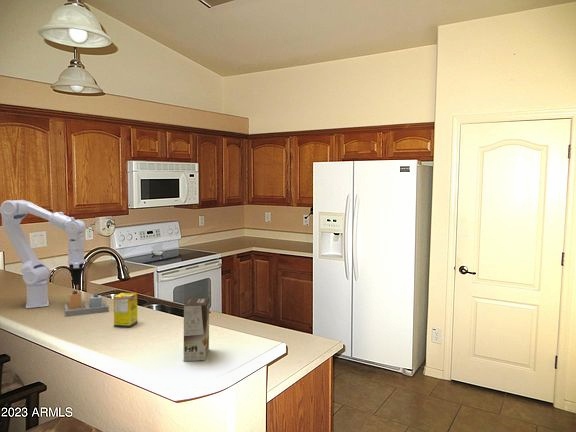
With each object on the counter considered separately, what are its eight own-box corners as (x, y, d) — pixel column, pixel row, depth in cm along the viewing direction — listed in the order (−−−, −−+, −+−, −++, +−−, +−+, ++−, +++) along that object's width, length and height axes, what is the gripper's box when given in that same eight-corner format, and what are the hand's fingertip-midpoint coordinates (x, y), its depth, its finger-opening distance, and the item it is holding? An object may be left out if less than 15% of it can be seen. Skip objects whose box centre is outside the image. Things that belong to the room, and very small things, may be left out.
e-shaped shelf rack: (64, 309, 167) (64, 304, 167) (105, 304, 174) (105, 300, 174) (65, 316, 158) (65, 311, 157) (108, 311, 165) (108, 306, 165)
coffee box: (206, 361, 119) (206, 305, 118) (183, 361, 118) (183, 305, 117) (209, 348, 128) (209, 296, 127) (188, 349, 127) (188, 297, 126)
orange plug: (69, 305, 173) (69, 290, 173) (80, 304, 175) (80, 289, 175) (69, 307, 170) (69, 292, 169) (80, 306, 172) (80, 291, 171)
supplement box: (137, 322, 152) (137, 292, 151) (129, 328, 146) (129, 296, 145) (122, 321, 152) (121, 292, 152) (113, 327, 147) (113, 296, 146)
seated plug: (90, 308, 169) (89, 293, 169) (100, 307, 171) (100, 292, 170) (90, 311, 165) (90, 296, 165) (101, 309, 167) (101, 295, 167)
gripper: (87, 251, 166) (87, 285, 167) (86, 247, 179) (87, 278, 180) (67, 252, 163) (67, 287, 164) (68, 247, 176) (68, 280, 177)
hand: (76, 282), depth 172 cm, fingers open, 7 cm apart
